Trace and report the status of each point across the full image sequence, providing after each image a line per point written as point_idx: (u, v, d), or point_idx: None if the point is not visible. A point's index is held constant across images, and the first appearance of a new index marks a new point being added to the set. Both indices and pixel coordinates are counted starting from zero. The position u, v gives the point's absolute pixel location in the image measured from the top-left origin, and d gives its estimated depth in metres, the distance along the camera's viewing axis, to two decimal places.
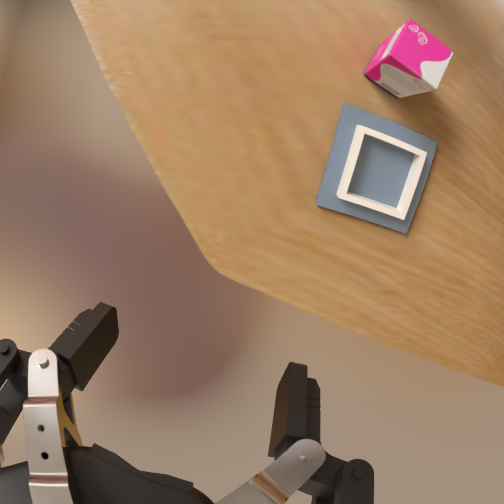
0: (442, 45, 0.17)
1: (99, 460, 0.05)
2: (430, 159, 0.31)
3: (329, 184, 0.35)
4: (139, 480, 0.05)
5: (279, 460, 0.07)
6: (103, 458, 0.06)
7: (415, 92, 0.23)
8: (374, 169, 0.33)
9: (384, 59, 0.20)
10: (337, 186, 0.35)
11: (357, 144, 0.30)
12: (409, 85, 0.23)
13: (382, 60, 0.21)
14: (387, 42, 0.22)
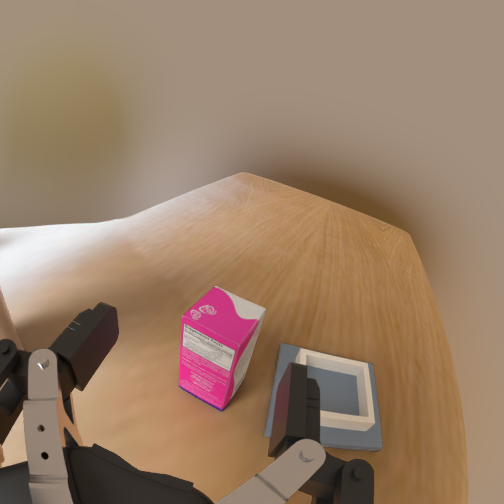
0: (210, 293, 0.26)
1: (99, 460, 0.05)
2: None
3: (359, 439, 0.25)
4: (139, 480, 0.05)
5: (279, 460, 0.07)
6: (103, 458, 0.06)
7: (254, 345, 0.28)
8: (330, 399, 0.30)
9: (235, 360, 0.22)
10: (358, 431, 0.26)
11: None
12: (252, 347, 0.27)
13: (233, 365, 0.23)
14: (194, 364, 0.25)
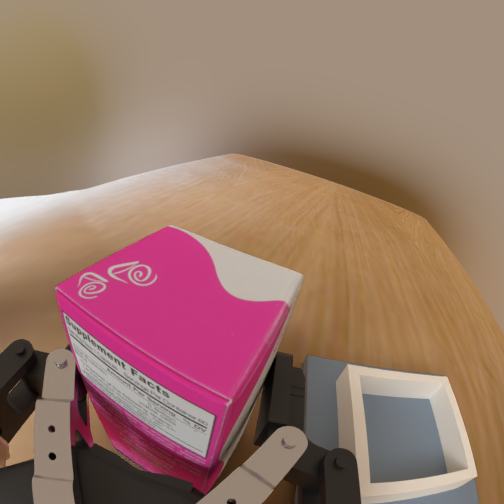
0: (152, 237, 0.10)
1: (99, 460, 0.05)
2: (341, 365, 0.20)
3: None
4: (139, 480, 0.05)
5: (260, 445, 0.07)
6: (103, 458, 0.06)
7: (268, 371, 0.11)
8: (402, 450, 0.13)
9: (220, 439, 0.06)
10: (448, 492, 0.09)
11: (396, 488, 0.09)
12: (264, 379, 0.10)
13: (216, 448, 0.06)
14: (119, 422, 0.08)
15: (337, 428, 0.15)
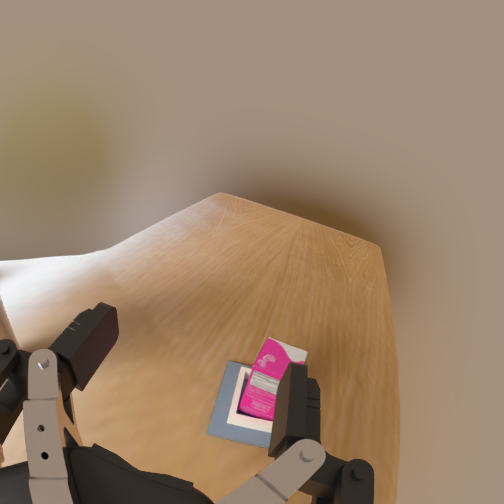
0: (267, 344, 0.34)
1: (99, 460, 0.05)
2: (244, 366, 0.44)
3: None
4: (139, 480, 0.05)
5: (279, 460, 0.07)
6: (103, 458, 0.06)
7: None
8: None
9: None
10: None
11: (247, 418, 0.33)
12: None
13: None
14: (257, 395, 0.33)
15: (233, 393, 0.39)
